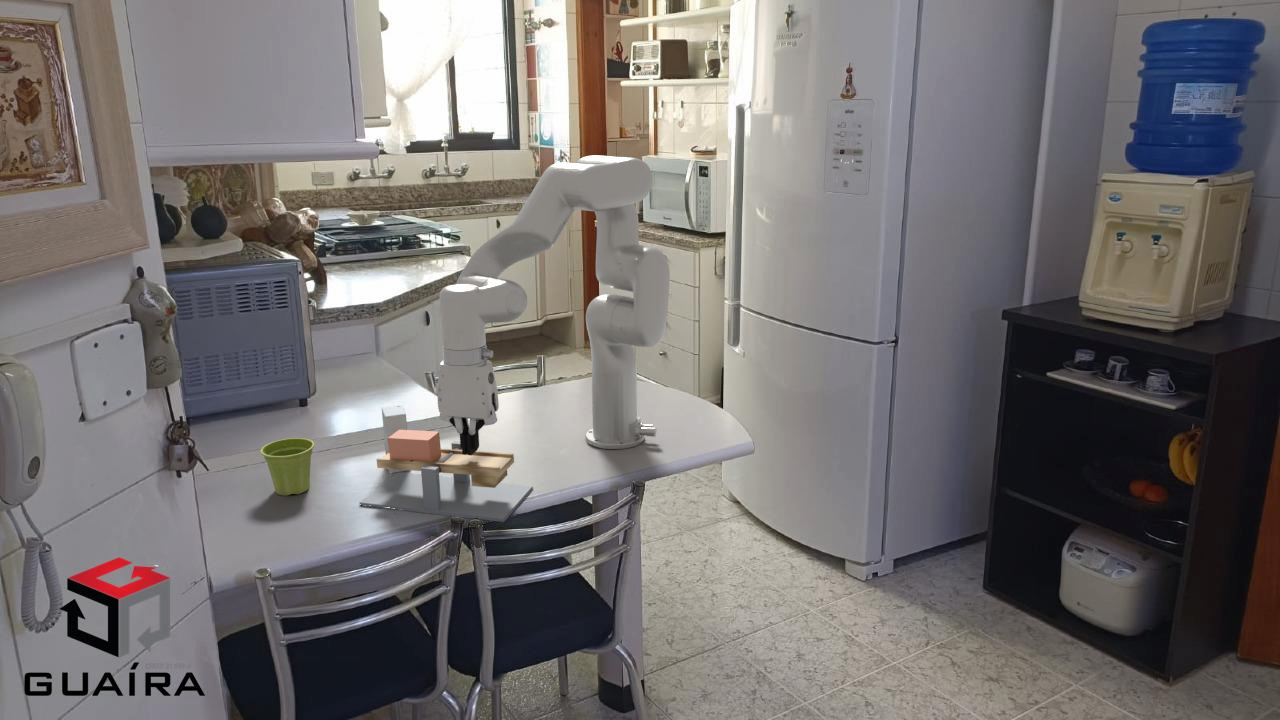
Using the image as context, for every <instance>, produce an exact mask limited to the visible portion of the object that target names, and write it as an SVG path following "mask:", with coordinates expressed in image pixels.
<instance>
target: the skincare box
mask: <svg viewBox="0 0 1280 720" xmlns="http://www.w3.org/2000/svg"><path fill="white" fill-rule="evenodd" d="M381 415H382V416H381V417H382V427H383V437H384V438H383V439H384V448H385V449H384V451H385V455H387V454H388V453H389V445H388V437H390V436H391V435H393V434H394V433H395V432H397V431H398V430H408V422H407V414H406V411H405V408H404V406H403V405H402V404H399V405H389V406H382V407H381ZM388 471H389V473H390V474H394V473H395V474H396V473H397V472H408V471H410V470H400V469H388Z"/></svg>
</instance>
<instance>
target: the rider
mask: <svg viewBox="0 0 1280 720" xmlns="http://www.w3.org/2000/svg"><path fill="white" fill-rule="evenodd" d="M440 437H441V436H440V431H433V430H432V431H431V430H430V431H429V430H417V429H416V430H414V429H407V430H398V431H397V432H395V433H394V434H393V435H391V436H390V437H388V445H389V454H390V459H396V460H410V461H411V460H414V461H424V462H433V461H434V460H436V459H437V458H438V457H439V456H440V455H441V449H442V448H441V438H440Z"/></svg>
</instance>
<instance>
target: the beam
mask: <svg viewBox="0 0 1280 720" xmlns="http://www.w3.org/2000/svg"><path fill="white" fill-rule="evenodd" d="M375 460H376V466H377V468H378V469H388V470H389V469H400V470H409V471H412V472H413V471H415V472H421V468H422V467H423V466H432V467H439V474H440V473H443V474H467V475H470V480H471V481H472V486H478V487H490V488H495V487H496V486H497V485H498V484H499V483H502V481H504V479H506V477H507V476H508V469H509V468H510V467H511V466H512V465H513V464H514V463H515V455H514V453H511V452H496V451H484V450H483V451H482V450H481V451H480V450H477V451H476V452H475V453H473V454H472V455H468V454H466V455H463V454H462V450H461V449H460V448H455V449H452V448H441V455H440V456H439V457H438V458H437V459H436V460H434V461H433V462H424V461H414V460H411V461H410V460H396V459H390V454H389V453H388V454H387V455H386V454H385V455H384V456H382V457H378V458H376V459H375Z"/></svg>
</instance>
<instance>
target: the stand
mask: <svg viewBox="0 0 1280 720" xmlns="http://www.w3.org/2000/svg"><path fill="white" fill-rule="evenodd" d="M450 444H451V449H455V448H460V449H461V450H462V448H461V447H460V440H459V441H457V440H453V441H452V442H451V443H450ZM420 473H421V474H419V473H410V472H404V471H402V472H395V474H394V475H392V476H391V477H390V478H389V479H387V480H386V481H384V482H383V483H382V484H381V485H380V486H378V487H377V488H376V489H374V490H373V491H372V492H371V493H369V494H368V495H367V496H366V497H364V498H363V499H361V501H359V505H360V504H361V505H371V506H379V507H390V508H395V509H402V510H401V511H404V510H409V511H408V512H413V511H415V512H416V513H421V512H423V514H430V513H431V514H432V515H440V516H441V515H442V516H447V517H449V516H451V517H456V516H461V517H460V518H467V519H472V520H473V519H474V520H475V518H478V519H477V520H484V521H492V522H498V523H499V522H501V523H504V522H505V521H506V520H507V519H508V518H509V517H510V515H512V513H513V512H514V511H515V510H516V509H517V507H519V505H520V504H521V503H522V502H523V501H524V500H525V498H526V497H527V496H528V495H529V494H530V493H531V492H532V490H533V489H534V488H533V485H525V484H517V483H516V484H515V483H506V482H500V483H499V484H498V485H497V486H496V487H495V488H490V487H478V486H472V481H471V475H467V474H453V473H452V474H453V475H452V476H453V477H448V476H440V473H439V467H432V466H423V467H422V468H421V471H420ZM361 505H360V506H361ZM395 509H394V510H395ZM415 512H414V513H415Z"/></svg>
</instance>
